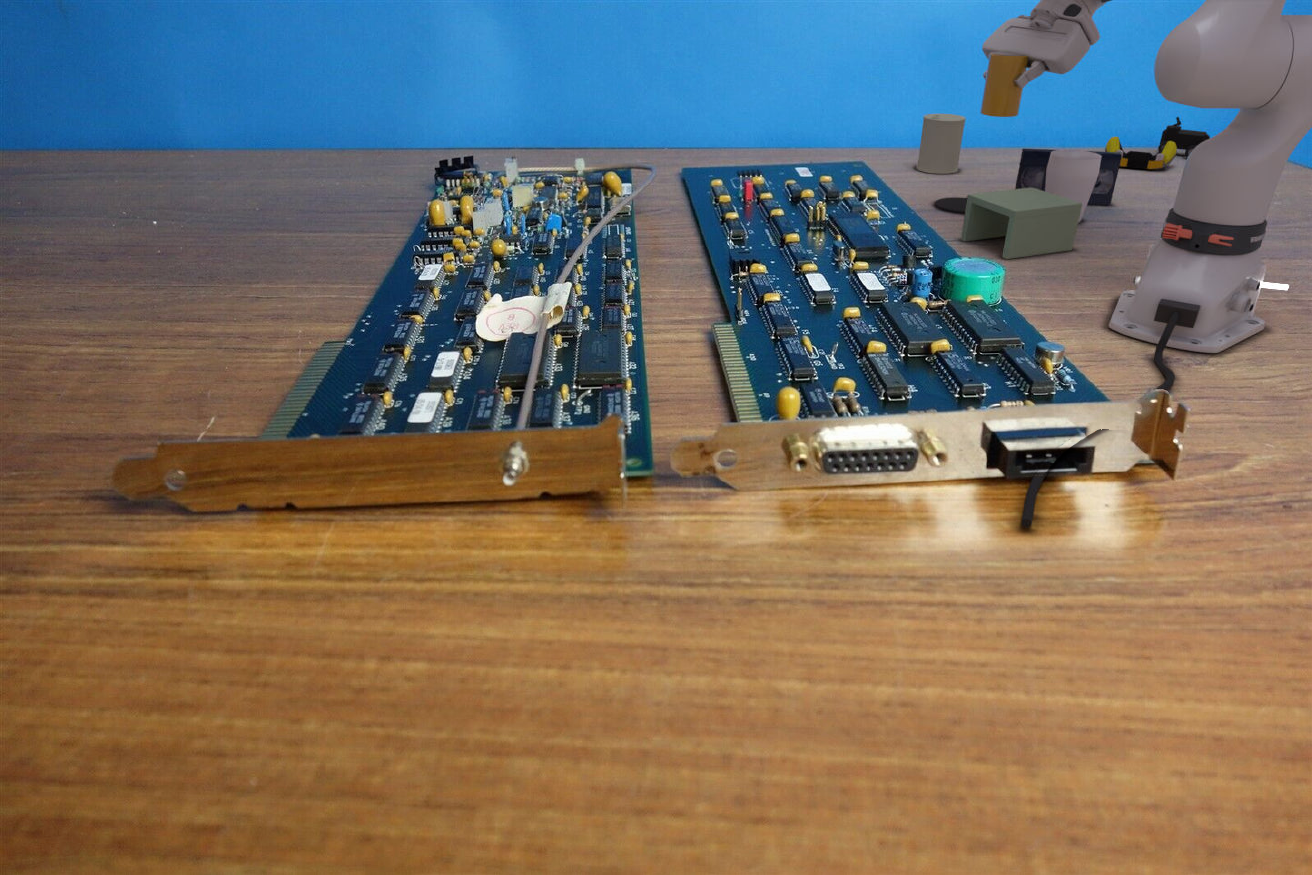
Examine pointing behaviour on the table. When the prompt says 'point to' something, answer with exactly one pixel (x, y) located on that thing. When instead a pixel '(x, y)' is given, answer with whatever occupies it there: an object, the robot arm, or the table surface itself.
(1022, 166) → the vhs cassette tape
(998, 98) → the tumbler
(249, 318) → the table surface
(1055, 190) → the cup
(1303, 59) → the robot arm
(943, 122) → the can
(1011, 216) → the shelf
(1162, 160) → the gaming controller
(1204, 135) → the toy vehicle
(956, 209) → the mat
